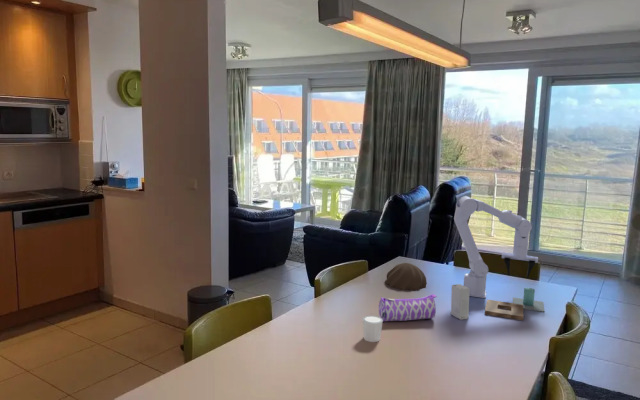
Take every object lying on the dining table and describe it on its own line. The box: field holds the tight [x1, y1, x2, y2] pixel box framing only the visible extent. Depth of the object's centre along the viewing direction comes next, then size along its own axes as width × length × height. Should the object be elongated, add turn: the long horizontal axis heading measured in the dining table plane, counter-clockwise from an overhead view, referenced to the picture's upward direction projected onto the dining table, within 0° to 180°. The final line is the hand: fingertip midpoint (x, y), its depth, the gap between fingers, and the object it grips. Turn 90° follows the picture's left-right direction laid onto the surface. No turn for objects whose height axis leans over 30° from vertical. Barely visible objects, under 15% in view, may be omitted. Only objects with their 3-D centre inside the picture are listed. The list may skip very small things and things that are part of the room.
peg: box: [522, 287, 535, 306], centre depth 197 cm, size 4×4×6 cm
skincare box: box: [450, 283, 470, 321], centre depth 182 cm, size 6×4×12 cm
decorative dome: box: [384, 262, 427, 291], centre depth 222 cm, size 19×20×10 cm
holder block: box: [484, 299, 524, 321], centre depth 190 cm, size 14×14×2 cm
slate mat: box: [512, 297, 546, 313], centre depth 197 cm, size 12×12×1 cm
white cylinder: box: [362, 315, 384, 343], centre depth 161 cm, size 7×7×7 cm
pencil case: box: [378, 293, 437, 322], centre depth 179 cm, size 22×9×10 cm, turn 101°
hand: (518, 275), depth 206 cm, fingers open, 7 cm apart
